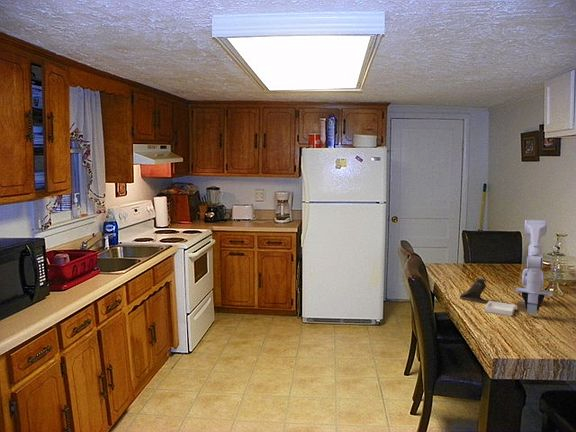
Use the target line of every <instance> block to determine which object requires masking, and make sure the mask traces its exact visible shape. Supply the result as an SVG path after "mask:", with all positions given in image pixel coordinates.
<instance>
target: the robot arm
mask: <svg viewBox="0 0 576 432" xmlns="http://www.w3.org/2000/svg"><path fill="white" fill-rule="evenodd" d="M547 232H548V221H547V220H541V219H540V220H538V219H537V220H536V219H525V220H524V234H525V235H526V236H528V237H529V245H528V246H527V247H528V253H527V255H528V256H527V257H526V267H527V268H525V269H523V270H522V274H521V275H522V276H521V284H522V286H523V287H516V288H515V293H517V294H518V293H521V297H522V299H523V300H522V301H523V302H525V306H526V309H527V304H528V302H529V303H536V304H538V306H537V312H539V311H540V308H541V307H540V306H541V304H542V302H543V301H544V300H545V297H549V298H552V292H551V291H548V290H547V291H546V290H541V288H543V287H544V284H545V283H544V282H545V275H544V271H543V270H542V269H543V267H544V257H543V246H542V244H540V243H541V238H542V237H545V236H546V234H547Z"/></svg>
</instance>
